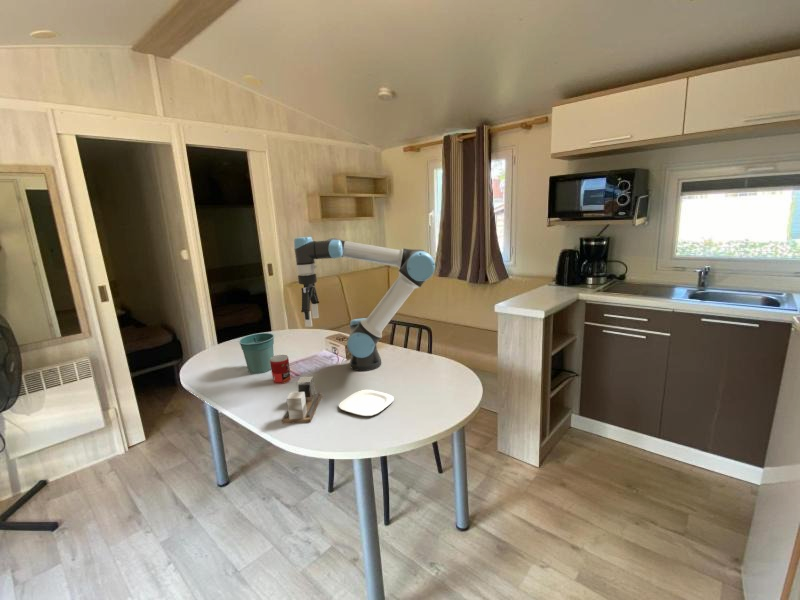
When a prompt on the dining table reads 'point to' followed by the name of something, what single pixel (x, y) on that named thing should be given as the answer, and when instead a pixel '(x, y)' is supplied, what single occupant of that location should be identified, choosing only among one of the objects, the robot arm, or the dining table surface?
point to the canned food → (280, 369)
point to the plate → (366, 402)
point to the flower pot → (258, 351)
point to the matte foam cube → (306, 387)
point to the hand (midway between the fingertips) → (312, 322)
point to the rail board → (300, 408)
